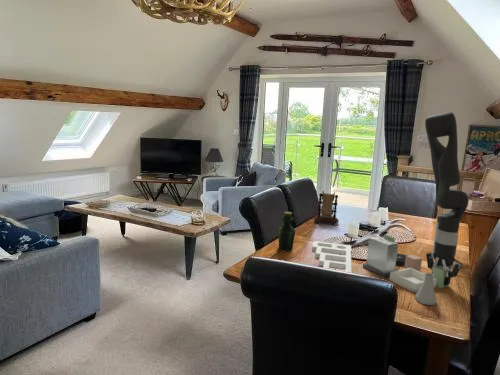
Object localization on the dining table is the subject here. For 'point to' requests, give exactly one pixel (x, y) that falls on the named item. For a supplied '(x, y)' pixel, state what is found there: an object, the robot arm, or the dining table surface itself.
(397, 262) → the disk drive
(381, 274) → the block
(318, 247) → the holder
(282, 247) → the potion bottle
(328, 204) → the scroll
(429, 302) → the flask
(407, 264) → the terracotta block
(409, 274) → the tray
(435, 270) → the sage block
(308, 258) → the dining table surface
